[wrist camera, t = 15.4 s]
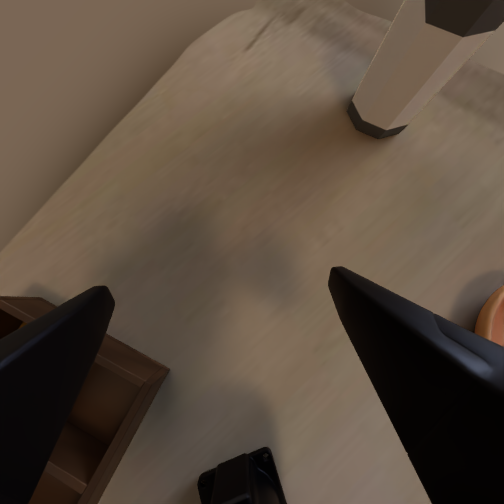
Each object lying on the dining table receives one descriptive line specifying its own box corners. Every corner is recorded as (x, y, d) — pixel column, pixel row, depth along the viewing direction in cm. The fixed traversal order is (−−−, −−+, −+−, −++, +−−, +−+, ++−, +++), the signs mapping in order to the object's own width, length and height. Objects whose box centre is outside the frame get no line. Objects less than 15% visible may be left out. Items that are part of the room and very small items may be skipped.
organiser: (169, 368, 20) (152, 384, 16) (69, 556, 16) (15, 634, 13) (40, 297, 21) (-7, 295, 17) (-80, 460, 18) (-172, 504, 14)
